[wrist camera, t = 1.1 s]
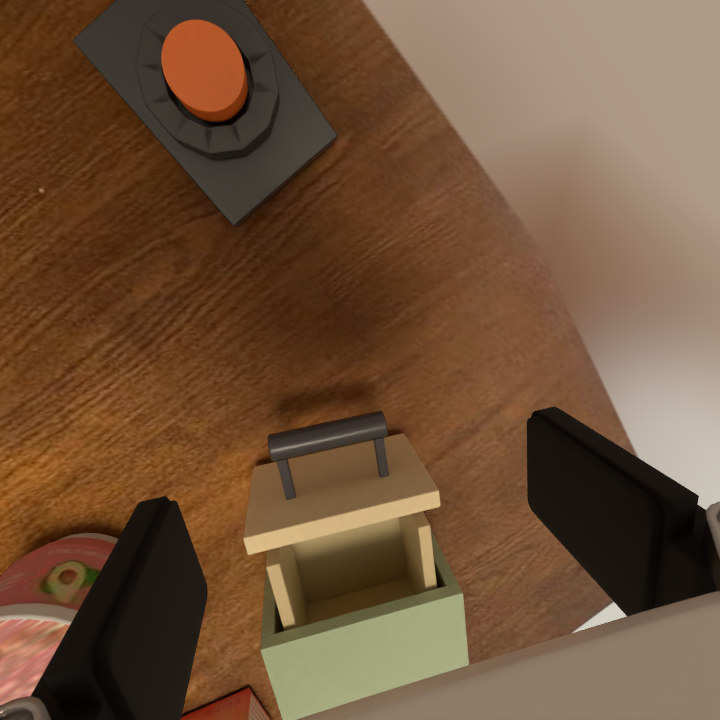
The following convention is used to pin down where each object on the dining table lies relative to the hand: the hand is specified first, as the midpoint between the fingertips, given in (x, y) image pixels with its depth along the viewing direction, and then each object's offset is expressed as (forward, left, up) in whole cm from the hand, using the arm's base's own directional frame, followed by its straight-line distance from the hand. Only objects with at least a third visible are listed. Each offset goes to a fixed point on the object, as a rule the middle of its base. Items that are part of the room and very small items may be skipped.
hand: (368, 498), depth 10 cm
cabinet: (+21, +9, -18) cm, 29 cm away
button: (-12, -9, -15) cm, 21 cm away
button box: (-12, -9, -18) cm, 24 cm away
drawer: (+12, +5, -17) cm, 22 cm away
